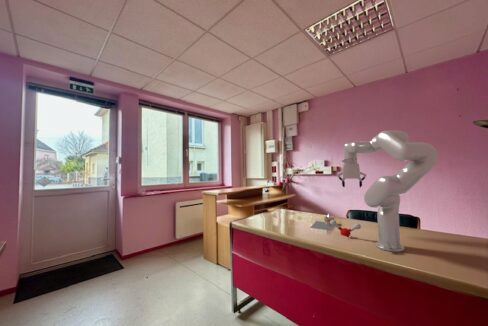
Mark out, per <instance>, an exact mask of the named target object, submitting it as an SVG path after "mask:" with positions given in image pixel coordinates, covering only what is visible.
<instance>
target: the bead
mask: <svg viewBox="0 0 488 326" xmlns="http://www.w3.org/2000/svg"><path fill="white" fill-rule="evenodd" d="M330 217H331V218H328V215H326V216H324V217H323V219H324V220H323V222H324V223H325V225H331V224H330V221H331V220H335V217H334V216H330Z"/></svg>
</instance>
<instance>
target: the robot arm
mask: <svg viewBox="0 0 488 326" xmlns="http://www.w3.org/2000/svg"><path fill="white" fill-rule="evenodd" d="M409 140H410V137H409V133H408V132H405V131H403V130H398V129H397V130H394V129H393V130H391V129H390V130H382V131H380V132H379V133H378V134H377V135H375V136H373V137H372V139H371V140H364V141H363V140H360V141H359V140H358V141H357V140H356V141H352V142H346V143H344V144H343V157H344V158H343V159H342V160H341V162H342V163H344V164H343V165H342V172H339V173H338V174H337V177H338V180H340V181H341V186H342V187H343V188H345V187H346V183H345V180H347V179H353V180H355V179H356V180H357V179H358V181H359V183H358V184H359V188H362V187H363V181H364V180H365V179H366V177H367V174H366V173H364V172H362V171H361V169H360V165H359V163H358V154H370V153H375V152H380V151H382V150H383V151H384V152H386V153H387V154H388V155H390V156H391V157H392V158H394V159H395V160H398V161H401V162H408V163H407V164H405V165H404V166H403V167H402V168H401V169H400V170H399V171H398V172H397V173H395V174H393V175H392V174H391V175H383V176H381V177H379V178H377V179H376V180H375V181H373V183H372V184H371V185H370V186H369V188H368V189H367V190H366V191H365V193H364V197H363V199H364V203H365V204H366V205H367V206H368V207H370V208H375V209H376V208H378V209H377V213H376V215H377V218H376V219H377V234H378V236H377V237H378V241H376V242H375V246H376V247H377V248H378V249H380V250H383V251H388V252H394V253H401V252H403V251H405V246H403V245H402V244H401V234H400V233H401V232H400V214H399V213H400V212H399V211H400V203H401V196H400V195H403V194H406V193H407V192H409V191H410V190H411V189H412V188H413V187H414V186H416V184H417V183H418V182H419V181H421V179H423V178H424V177H425V176H426V175H427V174H428V173H429V172H430V171H431V170H432V169H434V167H435V165H436V163H437V161H438V151H437V150H436V148H435V147H434V146H433V145H432V144H430V143H428V142H423V141H422V142H420V141H418V142H414V141H413V142H409ZM361 175H362V178H361ZM341 176H342V177H341Z"/></svg>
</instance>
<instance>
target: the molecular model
mask: <svg viewBox="0 0 488 326" xmlns="http://www.w3.org/2000/svg"><path fill="white" fill-rule="evenodd" d="M336 223H337V221H336V220H335V219H334V220H331V221H330V224H331V225H333V226H335V228H337V229H338V230H339V231H340V236H344V237H346V238H349V237H350V236H351V233H352V232H353V231H355V230H360V229H361V228H362V225H361V224H360V223H357V222H355V223H354V225H353V226H352V227H350V228H346V227H344V228H343V227H341V226H340V225H339V224H338V223H337V224H336Z"/></svg>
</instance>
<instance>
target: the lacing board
mask: <svg viewBox="0 0 488 326" xmlns="http://www.w3.org/2000/svg"><path fill="white" fill-rule="evenodd" d="M336 224H338V223H337V222H336ZM335 228H336V226H333V225H325V223H324V221H320V220H316V221H315V222H314V223H313V224H312V225H311V226H310V227H309V229H316V230H324V231H332V232H333V231H334V229H335Z"/></svg>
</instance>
